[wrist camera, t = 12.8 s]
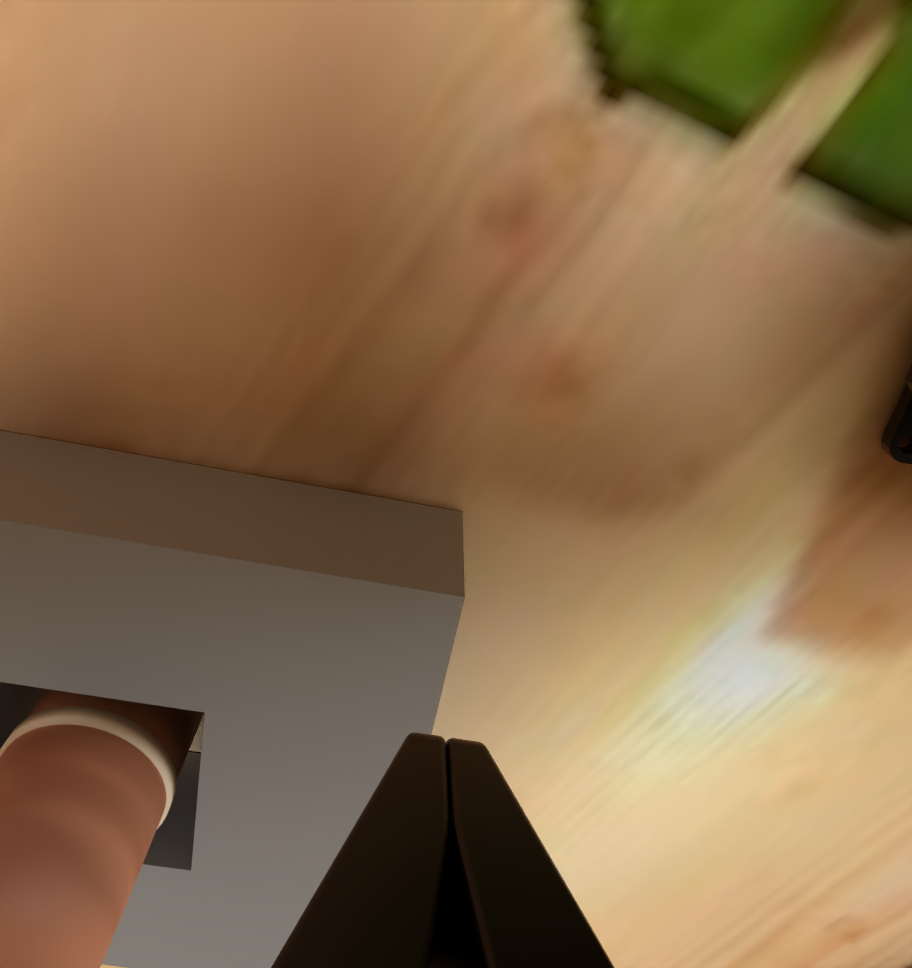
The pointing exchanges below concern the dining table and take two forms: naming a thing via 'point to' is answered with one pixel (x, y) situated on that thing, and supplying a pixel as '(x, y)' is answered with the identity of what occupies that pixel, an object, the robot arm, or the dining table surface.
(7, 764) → the peg
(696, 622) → the dining table surface
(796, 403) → the dining table surface
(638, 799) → the dining table surface
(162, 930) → the hole block
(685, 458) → the dining table surface
